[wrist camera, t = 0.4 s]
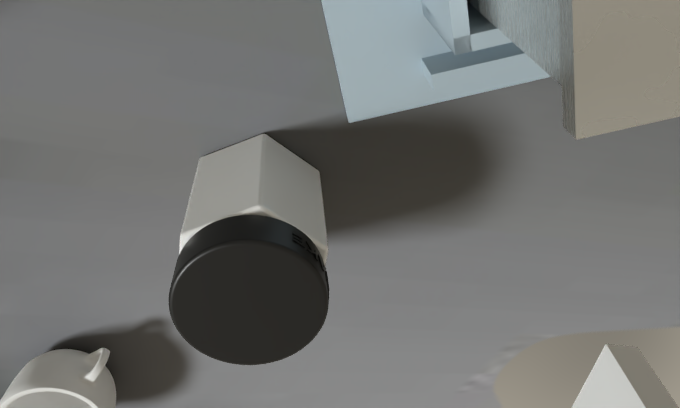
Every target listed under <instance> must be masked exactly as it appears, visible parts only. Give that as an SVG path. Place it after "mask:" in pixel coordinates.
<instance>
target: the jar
mask: <svg viewBox="0 0 680 408" xmlns="http://www.w3.org/2000/svg"><path fill="white" fill-rule="evenodd" d="M328 250H329V249H328V240H327V231H326V223H325V214H324V205H323V196H322V188H321V179H320V172H319V171H318V170H317V169H315V168H314V167H313V166H311V165H310V164H308V163H307V162H305V161H304V160H302V159H301V158H300V157H298V156H297V155H295V154H294V153H292V152H291V151H289V150H288V149H287V148H285V147H284V146H282V145H281V144H279V143H278V142H276V141H275V140H274V139H272V138H271V137H269V136H268V135H266V134H261V135H258V136H255V137H253V138H250V139H248V140H245V141H242V142H240V143H237V144H235V145H232V146H229V147H227V148H224V149H221V150H219V151H216V152H214V153H211V154H208V155H206V156H203V157H201V158H200V159H199V162H198V166H197V170H196V174H195V178H194V182H193V186H192V190H191V194H190V198H189V202H188V206H187V210H186V214H185V218H184V222H183V226H182V230H181V234H180V246H179V257H178V259H177V263H176V267H175V271H174V275H173V279H172V283H171V287H170V292H169V310H170V314H171V318H172V320H173V323H174V325H175V327H176V329H177V330H178V332H179V333H180V334H181V336H182V337H183V338H184V339H185V340H186V341H187V342H188V343H189V344H190V345H191V346H193V347H194V348H195V349H197V350H198V351H200V352H201V353H203V354H205V355H207V356H209V357H212V358H214V359H217V360H220V361H223V362H227V363H232V364H240V365H258V364H266V363H271V362H275V361H278V360H281V359H284V358H286V357H289V356H291V355H293V354H295V353H296V352H298V351H299V350H301V349H302V348H304V347H305V346H306V345H307V344H309V343H310V342H311V341H312V340H313V339H314V338H315V336H316V335H317V334H318V332H319V331H320V329H321V328H322V326H323V324H324V321H325V319H326V315H327V311H328V303H329V284H328V276H327V271H326V268H325V266H326V260H327V255H328Z"/></svg>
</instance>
